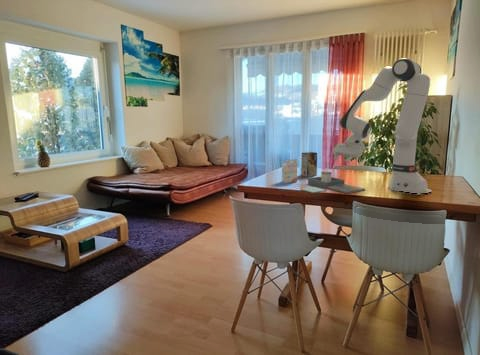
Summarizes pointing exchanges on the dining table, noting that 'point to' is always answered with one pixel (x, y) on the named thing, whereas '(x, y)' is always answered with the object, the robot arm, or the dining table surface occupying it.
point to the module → (326, 176)
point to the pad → (313, 189)
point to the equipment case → (334, 185)
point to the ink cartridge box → (289, 171)
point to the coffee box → (309, 164)
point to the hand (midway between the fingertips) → (340, 160)
